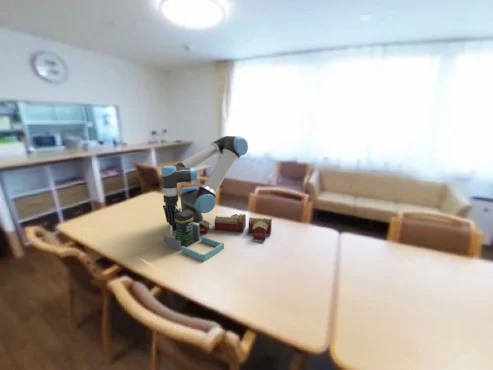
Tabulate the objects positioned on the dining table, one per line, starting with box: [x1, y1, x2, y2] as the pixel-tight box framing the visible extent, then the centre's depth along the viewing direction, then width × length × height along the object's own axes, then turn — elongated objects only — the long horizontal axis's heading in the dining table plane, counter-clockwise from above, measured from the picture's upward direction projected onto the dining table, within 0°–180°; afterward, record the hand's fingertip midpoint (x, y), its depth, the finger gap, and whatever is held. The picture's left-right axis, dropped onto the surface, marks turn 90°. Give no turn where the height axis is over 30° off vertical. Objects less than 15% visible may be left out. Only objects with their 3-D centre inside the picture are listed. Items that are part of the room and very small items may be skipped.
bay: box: [162, 222, 201, 252], centre depth 129 cm, size 14×13×10 cm
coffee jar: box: [175, 209, 195, 247], centre depth 126 cm, size 10×8×19 cm
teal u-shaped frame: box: [181, 235, 225, 262], centre depth 121 cm, size 15×16×3 cm
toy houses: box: [198, 213, 273, 241], centre depth 143 cm, size 45×20×10 cm, turn 80°
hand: (173, 235), depth 133 cm, fingers closed
